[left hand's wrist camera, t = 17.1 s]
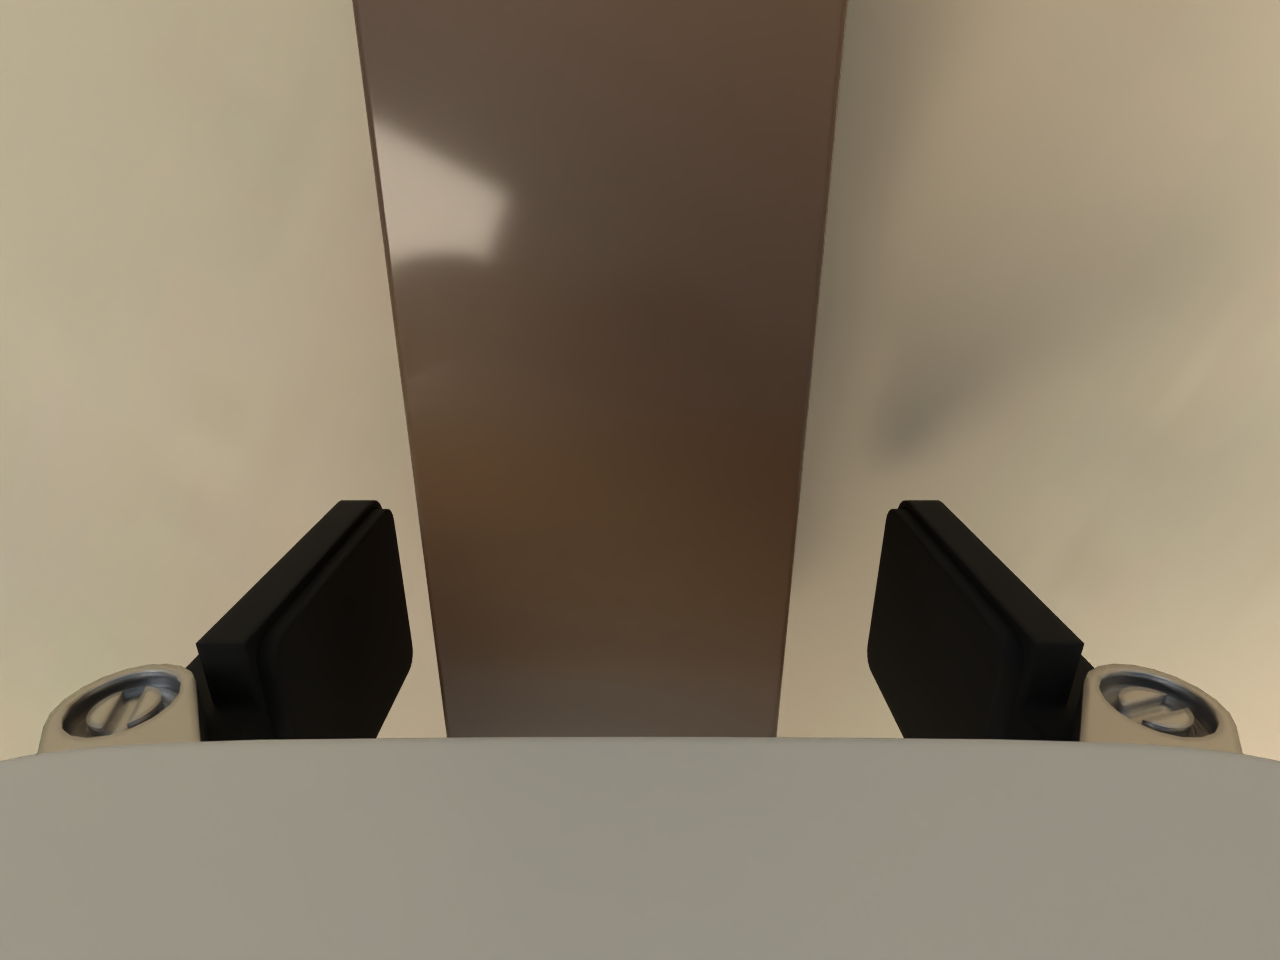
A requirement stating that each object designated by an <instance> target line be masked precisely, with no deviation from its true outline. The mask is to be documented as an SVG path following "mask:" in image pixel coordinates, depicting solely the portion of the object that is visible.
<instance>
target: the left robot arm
mask: <svg viewBox="0 0 1280 960" xmlns="http://www.w3.org/2000/svg"><path fill="white" fill-rule="evenodd" d="M196 646H197V650H198V653H199V655H198V656H197V657H196V658H195V659H194V660H193V661H192V662H191V663H190V664H189V665H188V666H187V667H186V668H184V667H182V666H177V665H171V664H154V665H144V666H140V667H135V668H130V669H126V670H123V671H120V672H117V673H114V674H111V675H108V676H105V677H103V678H101V679H99V680H97V681H95V682H93V683H90V684H88V685H86V686H84V687H82V688H81V689H79V690H78V691H76V692H75V693H73V694H72V695H70V696H69V697H67V698H66V699H64V700H63V701H62V702H61V703H60V704H59V705H58V706H57V707H56V708H55V709H54V710H53V711H52V712H51V713H50V715H49V717H48V719H47V721H46V722H45V724H44V727H43V731H42V735H41V740H40V744H39V749H38V753H37V754H35V755H29V756H24V757H19V758H14V759H9V760H4V761H0V960H1280V761H1276V760H1271V759H1266V758H1261V757H1255V756H1250V755H1245V754H1243V753H1242V749H1241V744H1240V740H1239V735H1238V731H1237V727H1236V724H1235V722H1234V721H1233V719H1232V717H1231V715H1230V713H1229V712H1228V711H1227V710H1226V709H1225V708H1224V707H1223V706H1222V705H1221V704H1220V703H1219V702H1218V701H1217V700H1216V699H1214V698H1213V697H1211V696H1210V695H1208V694H1207V693H1205V692H1204V691H1202V690H1201V689H1199V688H1198V687H1196V686H1194V685H1192V684H1190V683H1187V682H1185V681H1183V680H1181V679H1179V678H1177V677H1175V676H1172V675H1169V674H1166V673H1163V672H1160V671H1157V670H1154V669H1150V668H1145V667H1140V666H1136V665H1126V664H1109V665H1103V666H1098V667H1096V668H1094V667H1093V666H1092V665H1091V664H1090V663H1089V662H1088V661H1087V660H1086V659H1085V658H1084V657H1083V656H1082V655H1081V653H1082V650H1083V646H1084V643H1083V642H1082V641H1081V640H1080V639H1079V638H1078V637H1077V636H1076V635H1075V634H1074V633H1073V632H1072V631H1071V630H1070V629H1069V628H1068V627H1067V626H1066V625H1065V624H1064V623H1063V622H1062V621H1061V620H1060V619H1059V618H1058V617H1057V616H1056V615H1055V614H1054V613H1053V612H1052V611H1051V610H1050V609H1049V608H1048V607H1047V606H1046V605H1045V604H1044V603H1043V602H1042V601H1041V600H1040V599H1039V598H1038V597H1037V596H1036V595H1035V594H1034V593H1033V592H1032V591H1031V590H1030V589H1029V588H1028V587H1027V586H1026V585H1025V584H1024V583H1023V582H1022V581H1021V580H1020V579H1019V578H1018V577H1017V576H1016V575H1015V574H1014V573H1013V572H1012V571H1011V570H1010V569H1009V568H1008V567H1007V566H1006V565H1005V564H1004V563H1003V562H1002V561H1001V560H999V559H998V558H997V557H996V556H995V555H994V554H993V553H992V552H991V551H990V550H989V549H988V548H987V547H986V546H985V545H984V544H983V543H982V542H981V541H980V540H979V539H978V538H977V537H976V536H975V535H974V534H973V533H972V532H971V531H970V530H969V529H968V528H967V527H966V526H965V525H964V524H963V523H962V522H961V521H960V520H959V519H958V518H957V517H956V516H955V515H954V514H953V513H952V512H951V511H950V510H949V509H948V508H947V507H946V506H945V505H944V504H943V503H942V502H940V501H939V500H905V501H902V502H901V503H900V505H899V507H898V509H891V510H890V511H889V512H888V514H887V518H886V524H885V531H884V538H883V544H882V551H881V558H880V565H879V572H878V578H877V585H876V592H875V599H874V606H873V613H872V619H871V626H870V633H869V640H868V648H867V657H868V663H869V667H870V670H871V672H872V674H873V676H874V678H875V680H876V682H877V684H878V686H879V688H880V690H881V692H882V695H883V697H884V699H885V701H886V703H887V705H888V707H889V709H890V711H891V713H892V715H893V717H894V719H895V721H896V723H897V725H898V727H899V729H900V731H901V733H902V735H903V737H904V739H899V738H785V737H471V738H381V739H376V737H377V735H378V733H379V731H380V729H381V727H382V725H383V723H384V721H385V719H386V717H387V715H388V713H389V711H390V709H391V707H392V705H393V703H394V701H395V699H396V696H397V694H398V692H399V690H400V688H401V686H402V684H403V682H404V680H405V678H406V676H407V674H408V672H409V670H410V667H411V663H412V657H413V648H412V640H411V633H410V626H409V619H408V613H407V606H406V599H405V592H404V585H403V579H402V572H401V565H400V558H399V551H398V545H397V538H396V531H395V524H394V518H393V514H392V512H391V511H390V510H389V509H382V507H381V505H380V503H379V502H378V501H375V500H341V501H340V502H338V503H337V504H336V505H335V506H334V507H333V508H332V509H331V510H330V511H329V512H328V513H327V514H326V515H325V516H324V517H323V518H322V519H321V520H320V521H319V522H318V523H317V524H316V525H315V526H314V527H313V528H312V529H311V530H310V531H309V532H308V533H307V534H306V535H305V536H304V537H303V538H302V539H301V540H300V541H299V542H298V543H297V544H296V545H295V546H294V547H293V548H292V549H291V550H290V551H289V552H288V553H287V554H286V555H285V556H284V557H282V558H281V559H280V560H279V561H278V562H277V563H276V564H275V565H274V566H273V567H272V568H271V569H270V570H269V571H268V572H267V573H266V574H265V575H264V576H263V577H262V578H261V579H260V580H259V581H258V582H257V583H256V584H255V585H254V586H253V587H252V588H251V589H250V590H249V591H248V592H247V593H246V594H245V595H244V596H243V597H242V598H241V599H240V600H239V601H238V602H237V603H236V604H235V605H234V606H233V607H232V608H231V609H230V610H229V611H228V612H227V613H226V614H225V615H224V616H223V617H222V618H221V619H220V620H219V621H218V622H217V623H216V624H215V625H214V626H213V627H212V628H211V629H210V630H209V631H208V632H207V633H206V634H205V635H204V636H203V637H202V638H201V639H200V640H199V641H198V642H197V643H196Z"/></svg>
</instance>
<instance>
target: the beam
mask: <svg viewBox="0 0 1280 960" xmlns="http://www.w3.org/2000/svg"><path fill="white" fill-rule="evenodd" d="M352 2H353V10H354V18H355V26H356V33H357V41H358V49H359V57H360V64H361V72H362V80H363V88H364V96H365V103H366V111H367V119H368V127H369V135H370V142H371V150H372V158H373V166H374V173H375V181H376V189H377V197H378V205H379V212H380V220H381V228H382V236H383V243H384V251H385V259H386V267H387V275H388V282H389V290H390V298H391V306H392V313H393V321H394V329H395V337H396V345H397V352H398V360H399V368H400V376H401V383H402V391H403V399H404V407H405V415H406V422H407V430H408V438H409V446H410V453H411V461H412V469H413V477H414V485H415V492H416V500H417V508H418V516H419V523H420V531H421V539H422V547H423V555H424V562H425V570H426V578H427V586H428V593H429V601H430V609H431V617H432V625H433V632H434V640H435V648H436V656H437V664H438V671H439V679H440V687H441V695H442V702H443V710H444V718H445V726H446V734H447V738H471V737H776V736H777V726H778V716H779V705H780V695H781V685H782V675H783V664H784V654H785V644H786V633H787V623H788V613H789V602H790V592H791V582H792V571H793V561H794V551H795V541H796V530H797V520H798V510H799V499H800V489H801V479H802V468H803V458H804V448H805V437H806V427H807V417H808V406H809V396H810V386H811V376H812V365H813V355H814V345H815V334H816V324H817V314H818V303H819V293H820V283H821V272H822V262H823V252H824V242H825V231H826V221H827V211H828V200H829V190H830V180H831V169H832V159H833V149H834V138H835V128H836V118H837V108H838V97H839V87H840V77H841V66H842V56H843V46H844V35H845V25H846V15H847V4H848V0H352Z"/></svg>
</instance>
